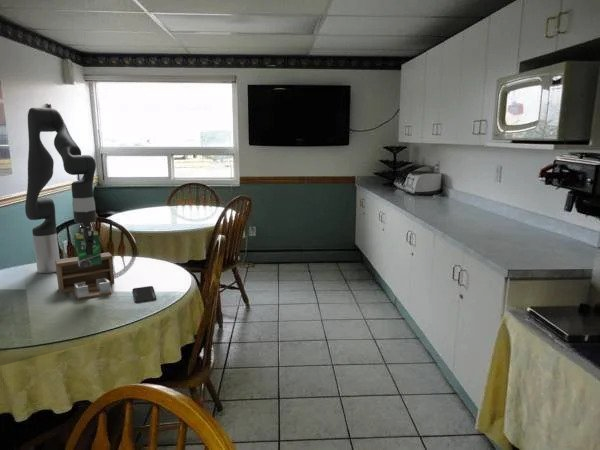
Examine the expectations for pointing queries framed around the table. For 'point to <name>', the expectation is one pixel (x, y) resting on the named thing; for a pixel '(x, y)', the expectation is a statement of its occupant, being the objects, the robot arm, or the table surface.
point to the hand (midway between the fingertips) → (88, 253)
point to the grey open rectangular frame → (101, 285)
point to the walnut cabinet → (83, 275)
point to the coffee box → (83, 258)
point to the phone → (144, 294)
